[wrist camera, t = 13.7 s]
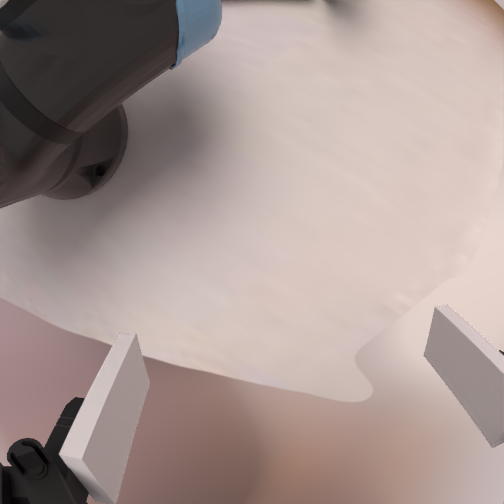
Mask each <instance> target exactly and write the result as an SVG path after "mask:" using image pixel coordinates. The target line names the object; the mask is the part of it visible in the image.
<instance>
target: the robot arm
mask: <svg viewBox="0 0 504 504" xmlns="http://www.w3.org/2000/svg"><path fill="white" fill-rule="evenodd" d="M221 19H222V5H221V0H0V208H3V207H5V206H8V205H11V204H14V203H16V202H19V201H22V200H25V199H28V198H30V197H33V196H36V195H39V194H42V195H45V196H48V197H51V198H55V199H62V200H66V199H75V198H79V197H82V196H84V195H87V194H90V193H92V192H94V191H96V190H97V189H99V188H100V187H101V186H103V185H104V184H105V183H106V182H107V181H108V180H109V179H110V178H111V177H112V175H113V174H114V173H115V171H116V169H117V168H118V166H119V164H120V162H121V160H122V157H123V155H124V151H125V147H126V142H127V120H126V115H125V112H124V109H123V106H122V104H121V103H122V102H124V101H125V100H126V99H127V98H129V97H130V96H131V95H133V94H134V93H135V92H137V91H138V90H139V89H141V88H142V87H144V86H145V85H146V84H148V83H149V82H150V81H152V80H153V79H155V78H156V77H158V76H159V75H161V74H162V73H163V72H165V71H166V70H168V69H171V70H172V69H174V68H176V67H177V66H179V64H180V63H181V61H182V60H183V59H184V58H186V57H187V56H189V55H190V54H192V53H193V52H195V51H196V50H198V49H199V48H201V47H202V46H204V45H206V44H207V43H208V42H210V41H211V40H212V39H213V38H214V37H215V35H216V33H217V31H218V29H219V26H220V24H221ZM424 357H425V358H426V359H427V360H428V362H429V363H430V364H431V365H432V367H433V368H434V369H435V371H436V372H437V373H438V374H439V376H440V377H441V378H442V379H443V381H444V382H445V384H446V385H447V386H448V387H449V389H450V390H451V391H452V393H453V394H454V395H455V397H456V398H457V399H458V401H459V402H460V403H461V405H462V406H463V407H464V409H465V410H466V411H467V413H468V414H469V416H470V417H471V418H472V420H473V421H474V422H475V424H476V425H477V427H478V428H479V430H480V431H481V432H482V434H483V435H484V437H485V438H486V440H487V441H488V442H489V444H490V445H491V447H492V448H494V447H496V446H498V445H500V444H501V443H503V442H504V352H502V351H501V350H499V351H498V350H497V349H496V348H495V347H494V346H493V345H492V344H491V343H490V342H489V341H488V340H487V339H486V338H484V337H483V336H482V335H481V334H480V333H479V332H478V331H477V330H476V329H475V328H473V327H472V326H471V325H470V324H469V323H468V322H467V321H466V320H464V319H463V318H462V317H461V316H460V315H459V314H458V313H457V312H455V311H454V310H453V309H452V308H451V307H450V306H448V305H443V306H437V307H435V309H434V314H433V319H432V323H431V328H430V332H429V337H428V340H427V345H426V348H425V352H424ZM149 385H150V381H149V378H148V375H147V371H146V368H145V364H144V361H143V357H142V353H141V350H140V346H139V342H138V338H137V334H136V333H119V335H118V337H117V339H116V341H115V342H114V344H113V346H112V348H111V350H110V352H109V353H108V355H107V357H106V359H105V361H104V363H103V365H102V367H101V369H100V370H99V372H98V374H97V376H96V378H95V380H94V382H93V384H92V386H91V388H90V390H89V392H88V394H87V396H86V398H78V397H75V398H74V399H73V400H71V401H70V402H69V403H68V404H67V405H66V406H65V408H64V410H63V412H62V414H61V417H60V418H59V419H58V421H57V423H56V426H55V427H54V429H53V431H52V433H51V435H50V437H49V439H48V441H47V443H46V445H45V447H44V448H43V447H42V445H41V444H40V442H38V441H37V440H35V439H31V438H25V439H21V440H18V441H17V442H15V443H14V444H13V445H12V446H11V447H10V448H9V451H8V453H7V460H8V462H9V463H10V464H11V465H12V466H10V467H9V466H3V465H2V464H1V463H0V504H87V502H86V500H87V497H88V494H90V496H91V497H92V498H93V499H94V500H95V501H97V502H101V503H106V504H117V499H118V495H119V491H120V487H121V483H122V480H123V476H124V472H125V468H126V464H127V461H128V457H129V453H130V450H131V446H132V443H133V439H134V436H135V432H136V429H137V425H138V421H139V418H140V415H141V411H142V408H143V404H144V401H145V398H146V395H147V391H148V388H149Z"/></svg>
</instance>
